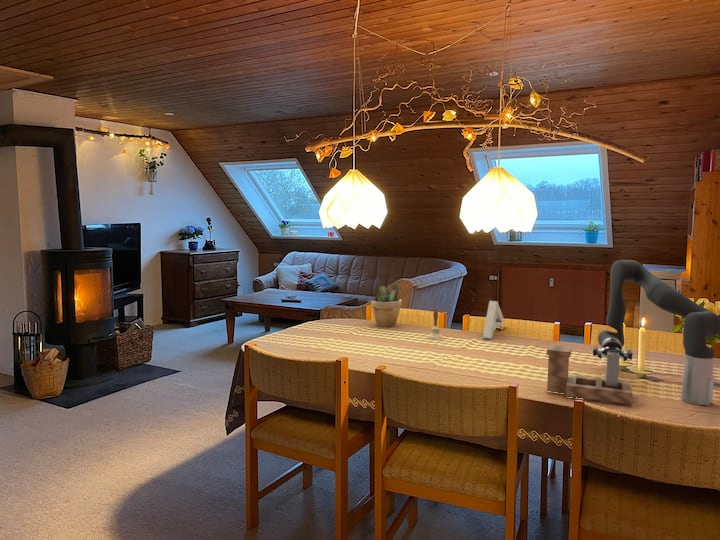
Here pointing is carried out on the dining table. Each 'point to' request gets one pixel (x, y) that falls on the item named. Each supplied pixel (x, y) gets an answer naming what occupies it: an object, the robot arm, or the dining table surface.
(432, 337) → the hand bell
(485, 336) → the white letter a
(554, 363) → the desk organizer
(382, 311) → the potted plant
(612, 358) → the gray rectangular block
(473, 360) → the dining table surface
